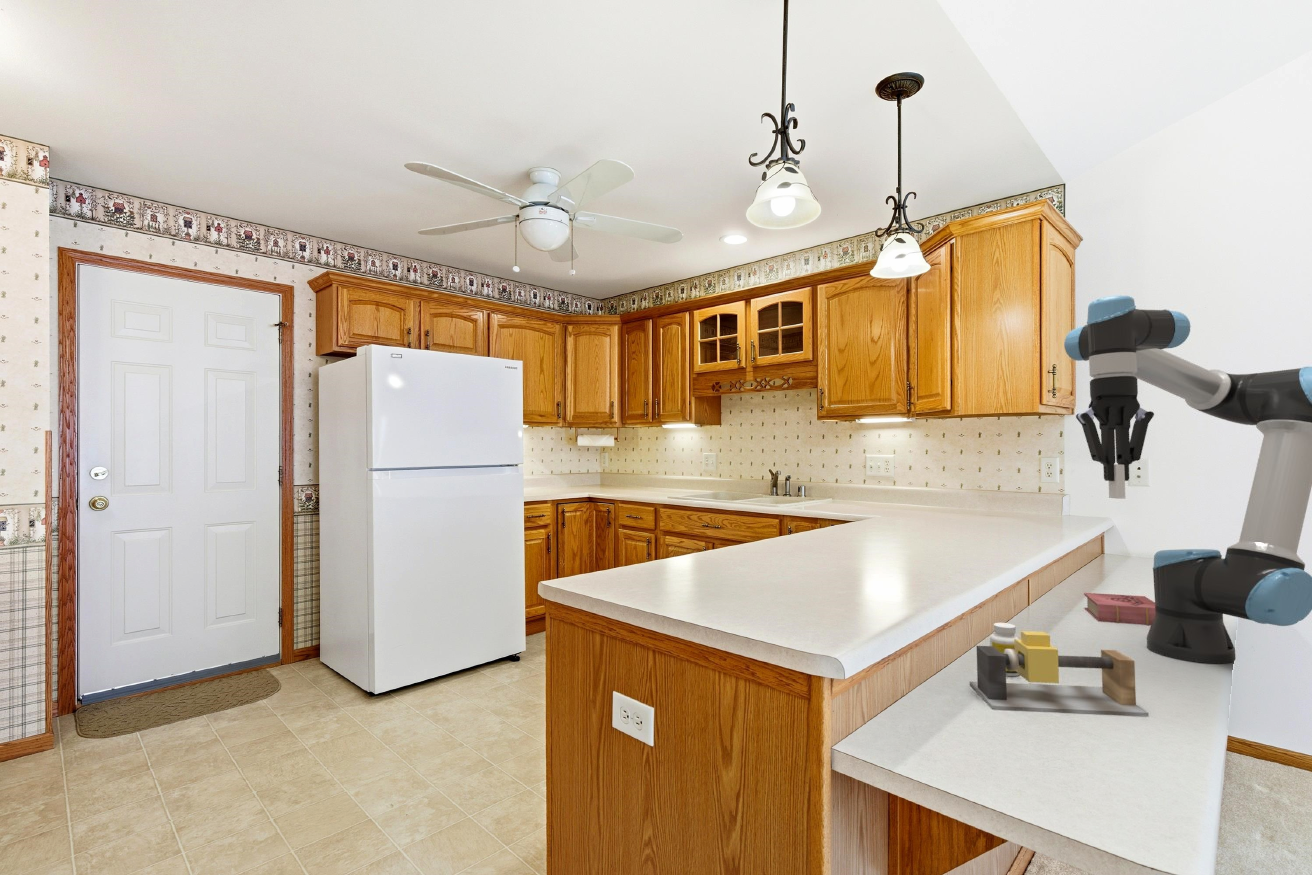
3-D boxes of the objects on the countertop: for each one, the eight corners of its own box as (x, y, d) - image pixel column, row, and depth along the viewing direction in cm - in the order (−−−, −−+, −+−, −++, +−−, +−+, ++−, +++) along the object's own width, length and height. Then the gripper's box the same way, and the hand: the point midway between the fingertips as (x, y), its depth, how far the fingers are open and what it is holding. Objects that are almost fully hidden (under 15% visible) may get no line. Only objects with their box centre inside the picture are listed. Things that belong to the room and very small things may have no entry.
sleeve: (1043, 671, 118) (1042, 629, 119) (1059, 683, 113) (1057, 638, 113) (1015, 670, 119) (1014, 628, 119) (1028, 682, 113) (1027, 637, 114)
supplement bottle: (1024, 677, 126) (1023, 629, 127) (995, 676, 128) (994, 627, 128) (1015, 668, 132) (1013, 621, 132) (987, 667, 133) (985, 620, 133)
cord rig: (1109, 690, 119) (1107, 643, 120) (1148, 716, 107) (1146, 663, 108) (969, 684, 123) (968, 638, 123) (992, 709, 111) (991, 658, 112)
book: (1099, 623, 166) (1098, 604, 167) (1084, 610, 181) (1084, 592, 181) (1165, 628, 161) (1165, 608, 161) (1145, 614, 175) (1144, 596, 175)
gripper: (1138, 378, 125) (1142, 496, 124) (1067, 380, 127) (1071, 496, 126) (1162, 373, 118) (1167, 499, 117) (1086, 375, 120) (1090, 499, 119)
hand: (1117, 497), depth 122 cm, fingers closed
